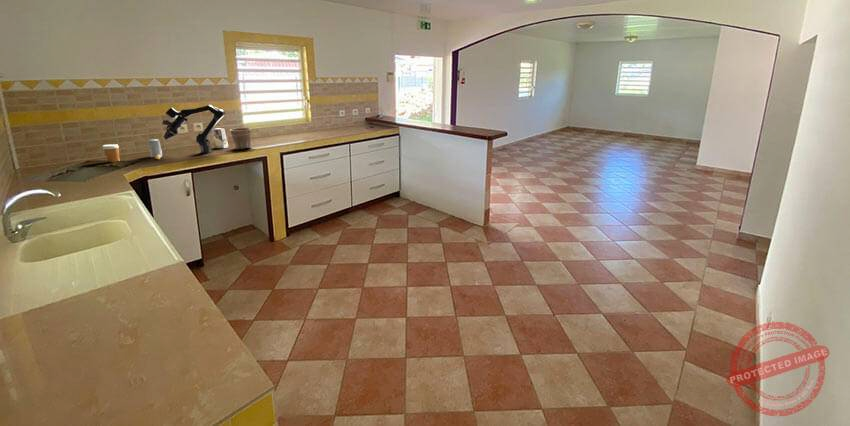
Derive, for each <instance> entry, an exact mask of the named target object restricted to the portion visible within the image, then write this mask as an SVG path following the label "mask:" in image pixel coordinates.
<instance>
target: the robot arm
mask: <svg viewBox="0 0 850 426" xmlns="http://www.w3.org/2000/svg"><path fill="white" fill-rule="evenodd" d="M207 111H208V112H210V113H211V114H213V117H212V120H210V122H209V123H208V125H207V126H206V127H205V129H204V131H203V132H202V131H201V132H199V133H198V134H197V136H196V139H195V140H196V143H198V145H199V148H200V154H210V153H212V152H213V150H212V149H211V141H210V140H209V139H208V138H209V135H210V133H212V129H215V128H214V127H216V125H217V124H218V123H219V121H220V120H222V118H224V117H225V116H226V112H225V110H224V109H221V108H218V107H216V106H214V105H212V104H208V105H204V106H200V107H196V108H184V109H181V110H180V111H177V110H176V109H174V107H170V108H169V109H168V110H166V112H165V115H166V116H168V117H170V119H173V120H172V121H170V120H169V119H166V120H165V119H163V120H162V123H161V124H162V125H166V126H165V130H166V131H165V133H164V135H163V138H164V140H168V139H170V138H172V137H175V136H176V135H178V133H179V132H178V131H179V129H180V128H181V127H182V125H183V124H185V122H186V123H189V119H188V117H190V116H192V115H195V114H198V113H204V112H207Z"/></svg>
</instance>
